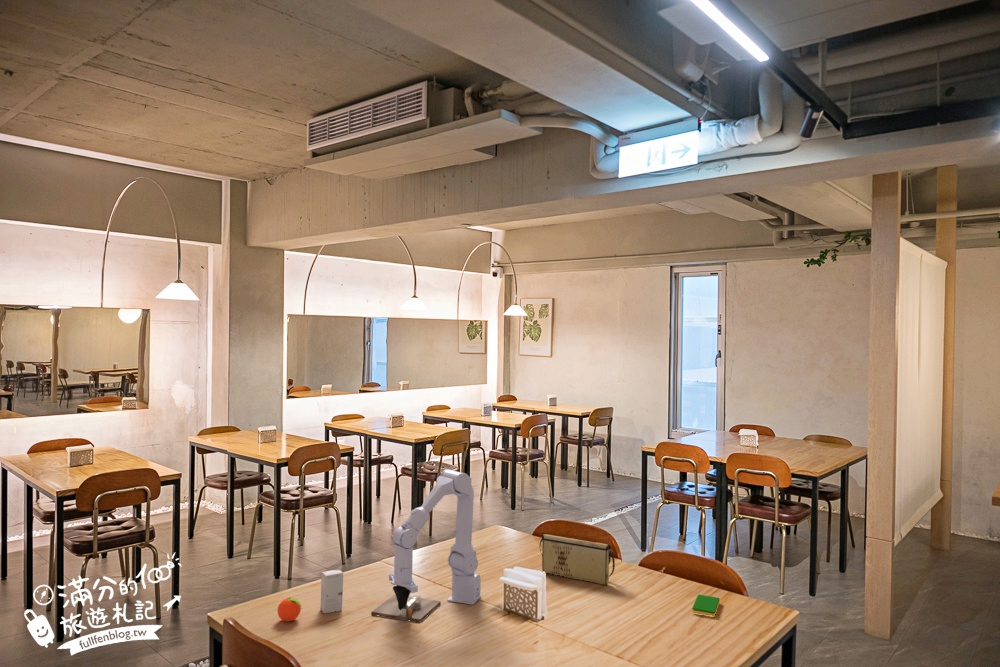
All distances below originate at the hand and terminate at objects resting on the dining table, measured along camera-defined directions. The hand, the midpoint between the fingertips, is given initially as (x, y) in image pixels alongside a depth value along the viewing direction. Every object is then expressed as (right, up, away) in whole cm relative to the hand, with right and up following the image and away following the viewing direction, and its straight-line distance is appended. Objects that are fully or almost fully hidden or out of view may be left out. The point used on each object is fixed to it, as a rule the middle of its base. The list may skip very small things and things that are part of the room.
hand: (402, 608), depth 211 cm
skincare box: (-24, -2, +4) cm, 24 cm away
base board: (+1, -2, +5) cm, 6 cm away
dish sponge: (+100, -5, +10) cm, 100 cm away
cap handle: (+2, -1, +1) cm, 3 cm away
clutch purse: (+60, -4, +39) cm, 71 cm away
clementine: (-34, -2, -5) cm, 34 cm away
